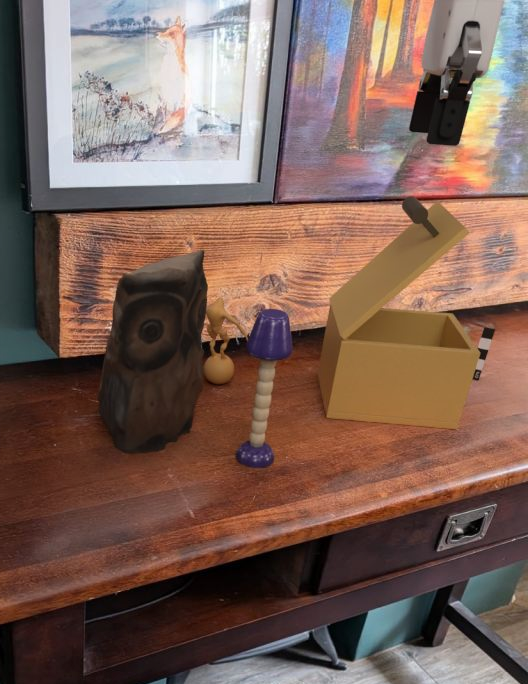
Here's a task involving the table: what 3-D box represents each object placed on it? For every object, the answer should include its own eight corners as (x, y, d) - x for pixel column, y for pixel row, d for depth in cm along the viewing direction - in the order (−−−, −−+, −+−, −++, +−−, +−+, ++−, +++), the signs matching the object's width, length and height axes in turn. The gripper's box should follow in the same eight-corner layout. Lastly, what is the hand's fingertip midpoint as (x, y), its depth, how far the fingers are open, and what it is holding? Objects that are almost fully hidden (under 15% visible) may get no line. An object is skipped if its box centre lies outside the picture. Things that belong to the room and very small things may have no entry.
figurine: (252, 385, 99) (263, 296, 92) (232, 401, 95) (243, 309, 88) (196, 370, 102) (204, 283, 96) (175, 385, 98) (182, 295, 91)
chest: (433, 383, 102) (453, 313, 97) (456, 429, 91) (480, 352, 85) (317, 374, 103) (330, 303, 98) (326, 418, 92) (341, 341, 86)
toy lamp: (277, 471, 80) (302, 321, 71) (234, 469, 80) (253, 319, 71) (270, 449, 84) (293, 305, 75) (229, 448, 84) (247, 303, 75)
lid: (441, 205, 90) (416, 175, 88) (470, 232, 78) (442, 199, 77) (332, 302, 98) (308, 276, 96) (344, 340, 86) (317, 311, 85)
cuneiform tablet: (478, 380, 104) (392, 361, 108) (480, 375, 107) (396, 357, 112) (495, 329, 101) (405, 311, 105) (496, 326, 105) (410, 309, 109)
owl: (199, 409, 92) (215, 243, 81) (208, 460, 82) (227, 278, 71) (97, 406, 92) (99, 238, 81) (93, 457, 81) (94, 272, 70)
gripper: (552, -69, 63) (489, 152, 72) (495, -53, 77) (449, 130, 87) (461, -74, 63) (411, 147, 73) (421, -57, 78) (384, 126, 87)
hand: (432, 138), depth 80 cm, fingers open, 9 cm apart
